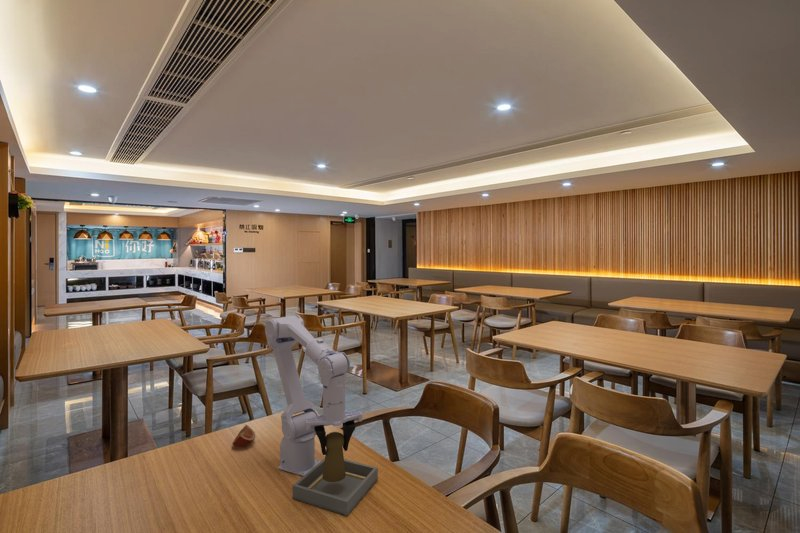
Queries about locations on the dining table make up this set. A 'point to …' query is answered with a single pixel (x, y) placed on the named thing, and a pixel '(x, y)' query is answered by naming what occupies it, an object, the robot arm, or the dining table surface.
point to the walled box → (336, 487)
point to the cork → (334, 458)
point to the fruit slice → (244, 437)
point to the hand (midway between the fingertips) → (334, 451)
